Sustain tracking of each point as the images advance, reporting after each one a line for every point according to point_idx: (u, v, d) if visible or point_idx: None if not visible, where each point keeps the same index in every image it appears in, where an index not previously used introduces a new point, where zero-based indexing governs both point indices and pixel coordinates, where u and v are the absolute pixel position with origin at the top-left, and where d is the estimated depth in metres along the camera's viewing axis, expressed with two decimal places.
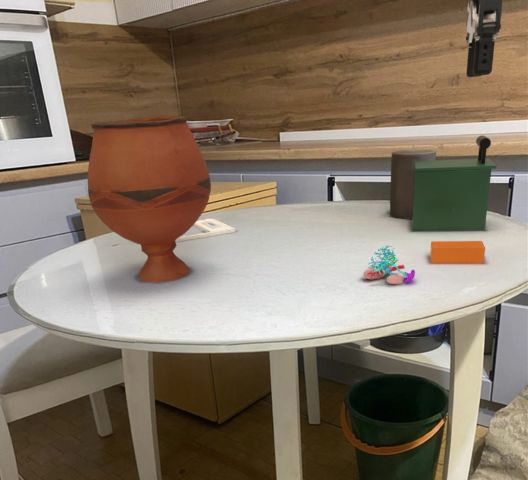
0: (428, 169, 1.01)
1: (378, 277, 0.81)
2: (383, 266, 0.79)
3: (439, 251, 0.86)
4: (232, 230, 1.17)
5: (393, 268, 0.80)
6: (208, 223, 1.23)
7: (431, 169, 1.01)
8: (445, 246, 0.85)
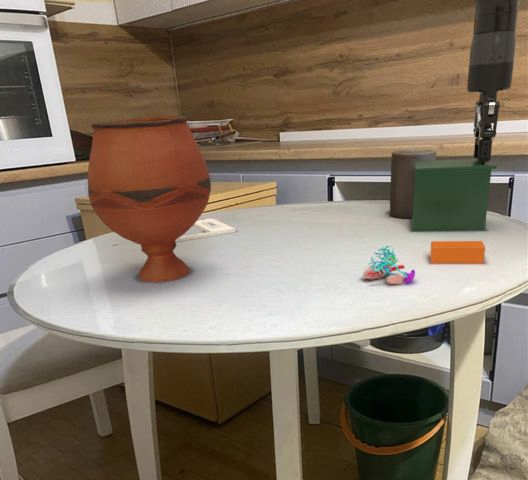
0: (428, 169, 1.01)
1: (378, 277, 0.81)
2: (383, 266, 0.79)
3: (439, 251, 0.86)
4: (232, 230, 1.17)
5: (393, 268, 0.80)
6: (208, 223, 1.23)
7: (431, 169, 1.01)
8: (445, 246, 0.85)
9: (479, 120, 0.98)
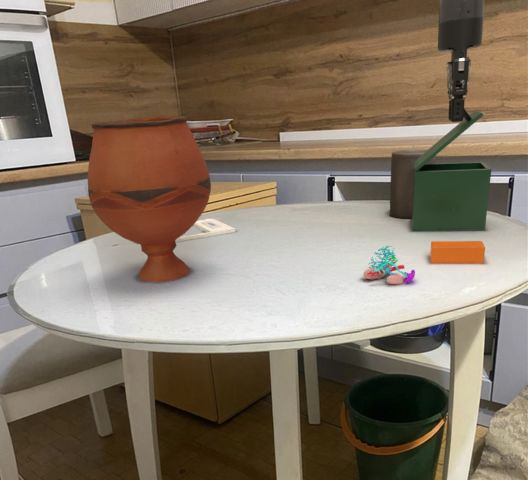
0: (425, 161, 1.01)
1: (378, 277, 0.81)
2: (383, 266, 0.79)
3: (439, 251, 0.86)
4: (232, 230, 1.17)
5: (393, 268, 0.80)
6: (208, 223, 1.23)
7: (428, 159, 1.00)
8: (445, 246, 0.85)
9: (450, 79, 0.96)
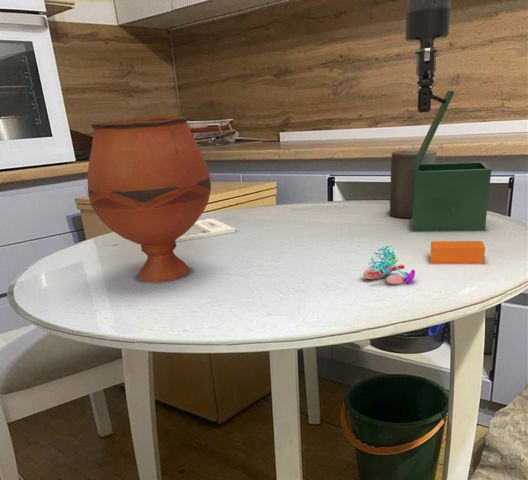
0: (421, 157, 1.01)
1: (378, 277, 0.81)
2: (383, 266, 0.79)
3: (439, 251, 0.86)
4: (232, 230, 1.17)
5: (393, 268, 0.80)
6: (208, 223, 1.23)
7: (422, 154, 1.00)
8: (445, 246, 0.85)
9: (417, 69, 0.97)
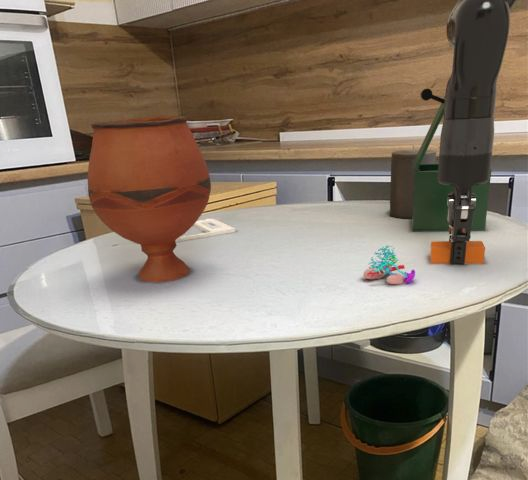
0: (421, 157, 1.01)
1: (378, 277, 0.81)
2: (383, 266, 0.79)
3: (439, 251, 0.86)
4: (232, 230, 1.17)
5: (393, 268, 0.80)
6: (208, 223, 1.23)
7: (422, 154, 1.00)
8: (445, 246, 0.85)
9: (451, 219, 0.82)
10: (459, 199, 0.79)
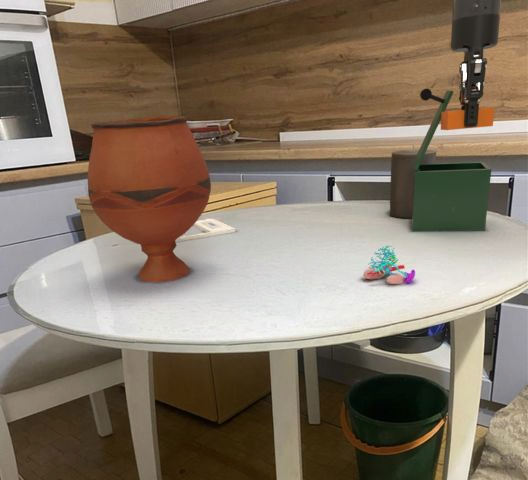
0: (421, 157, 1.01)
1: (378, 277, 0.81)
2: (383, 266, 0.79)
3: (454, 115, 0.93)
4: (232, 230, 1.17)
5: (393, 268, 0.80)
6: (208, 223, 1.23)
7: (422, 154, 1.00)
8: (459, 110, 0.93)
9: (465, 81, 0.91)
10: (472, 57, 0.88)
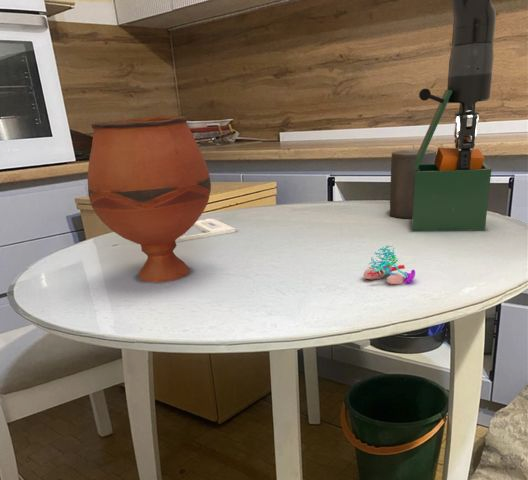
0: (420, 157, 1.01)
1: (378, 277, 0.81)
2: (383, 266, 0.79)
3: (448, 159, 1.01)
4: (232, 230, 1.17)
5: (393, 268, 0.80)
6: (208, 223, 1.23)
7: (422, 154, 1.00)
8: (454, 155, 1.01)
9: (458, 131, 0.99)
10: (465, 113, 0.96)
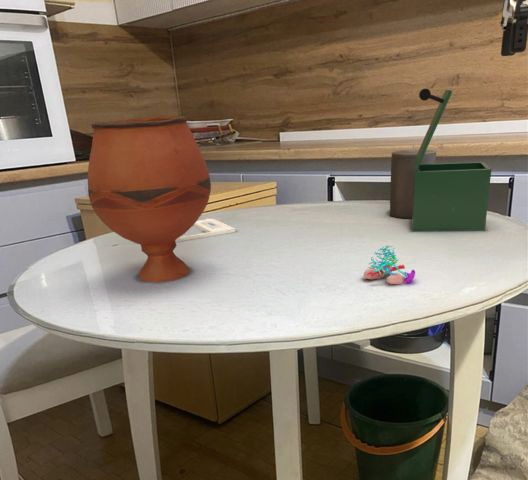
0: (420, 157, 1.01)
1: (378, 277, 0.81)
2: (383, 266, 0.79)
3: None
4: (232, 230, 1.17)
5: (393, 268, 0.80)
6: (208, 223, 1.23)
7: (422, 154, 1.00)
8: None
9: None
10: None
